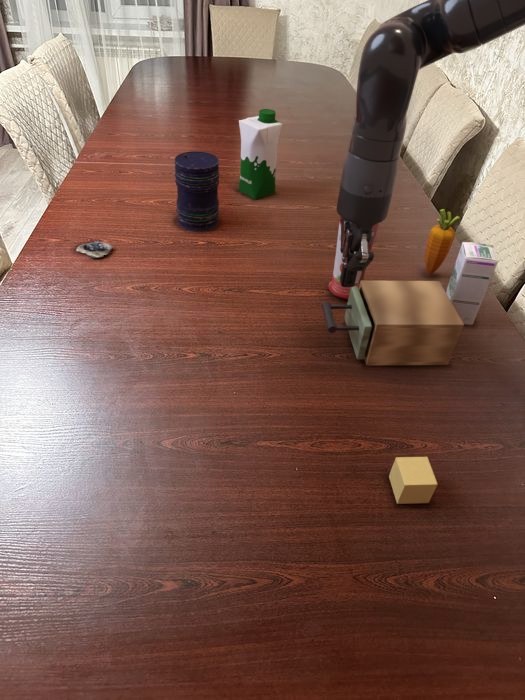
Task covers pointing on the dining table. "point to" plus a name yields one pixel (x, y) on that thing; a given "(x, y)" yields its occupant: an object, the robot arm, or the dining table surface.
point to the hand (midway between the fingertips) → (346, 284)
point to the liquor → (335, 283)
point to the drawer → (353, 321)
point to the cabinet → (410, 323)
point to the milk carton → (259, 154)
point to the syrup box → (471, 279)
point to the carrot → (439, 242)
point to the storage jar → (197, 190)
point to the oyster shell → (95, 249)
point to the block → (412, 480)
